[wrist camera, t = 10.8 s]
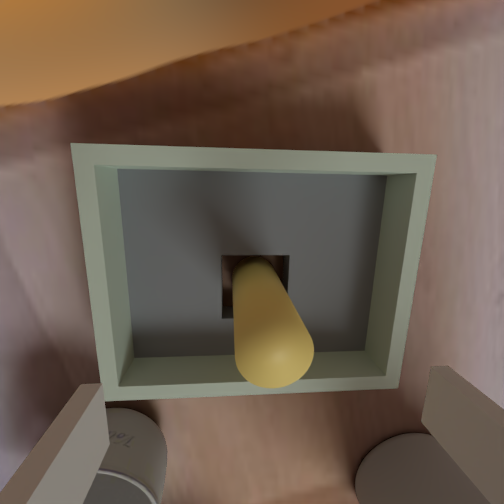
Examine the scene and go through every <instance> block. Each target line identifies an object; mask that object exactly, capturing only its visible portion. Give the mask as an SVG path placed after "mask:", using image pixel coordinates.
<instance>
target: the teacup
mask: <svg viewBox="0 0 504 504" xmlns="http://www.w3.org/2000/svg"><path fill="white" fill-rule="evenodd" d="M106 416H107V425H108V433H109V442H110V445H109V447H108V449H107V451H106V453H105V456H104V458H103V460H102V462H101V465H100V467H99V469H98V471H97V473H96V476H95V478H94V480H93V482H92V485H91V487H90V489H89V491H88V493H87V496H86V498H85V500H84V502H83V504H161V500H162V494H163V488H164V482H165V475H166V467H167V445H166V441H165V438H164V435H163V433H162V431H161V430H160V428H159V427H158V426H157V424H156V423H155V422H154V421H153V420H151V419H150V418H149V417H147V416H146V415H144V414H142V413H139V412H137V411H135V410H132V409H127V408H107V409H106Z"/></svg>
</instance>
